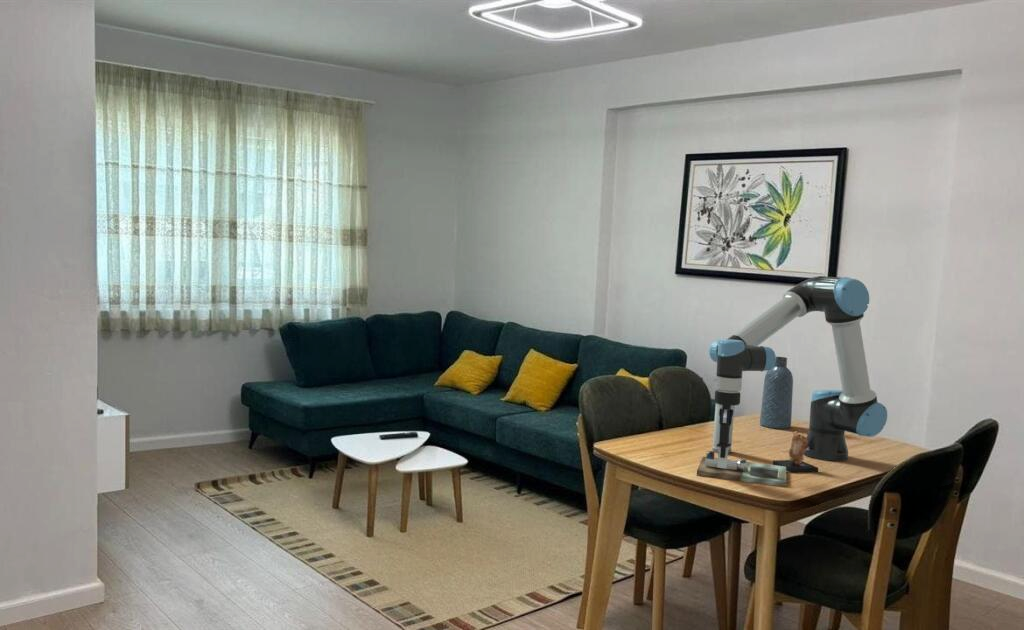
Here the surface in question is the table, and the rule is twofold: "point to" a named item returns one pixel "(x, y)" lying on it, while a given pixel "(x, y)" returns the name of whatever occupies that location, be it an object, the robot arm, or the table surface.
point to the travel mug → (717, 429)
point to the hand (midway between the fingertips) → (722, 467)
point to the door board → (747, 473)
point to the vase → (777, 396)
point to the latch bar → (731, 464)
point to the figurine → (797, 456)
